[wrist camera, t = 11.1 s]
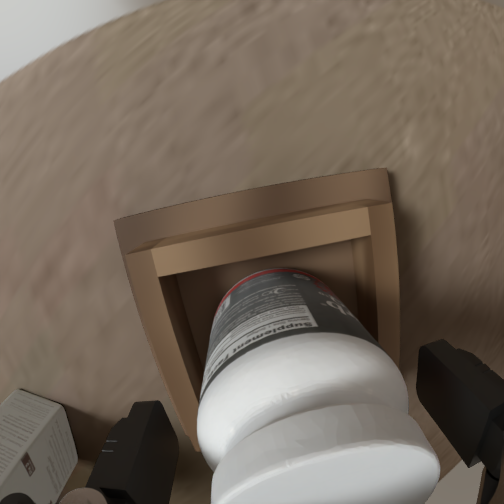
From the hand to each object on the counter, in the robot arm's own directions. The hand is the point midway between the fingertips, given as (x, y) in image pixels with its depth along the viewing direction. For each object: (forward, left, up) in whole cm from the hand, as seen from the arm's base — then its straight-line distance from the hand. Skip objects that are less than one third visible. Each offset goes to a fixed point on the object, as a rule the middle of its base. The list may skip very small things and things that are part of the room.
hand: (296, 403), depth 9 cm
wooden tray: (0, 0, -7) cm, 7 cm away
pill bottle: (0, 0, -6) cm, 6 cm away
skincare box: (+17, +6, -7) cm, 19 cm away
